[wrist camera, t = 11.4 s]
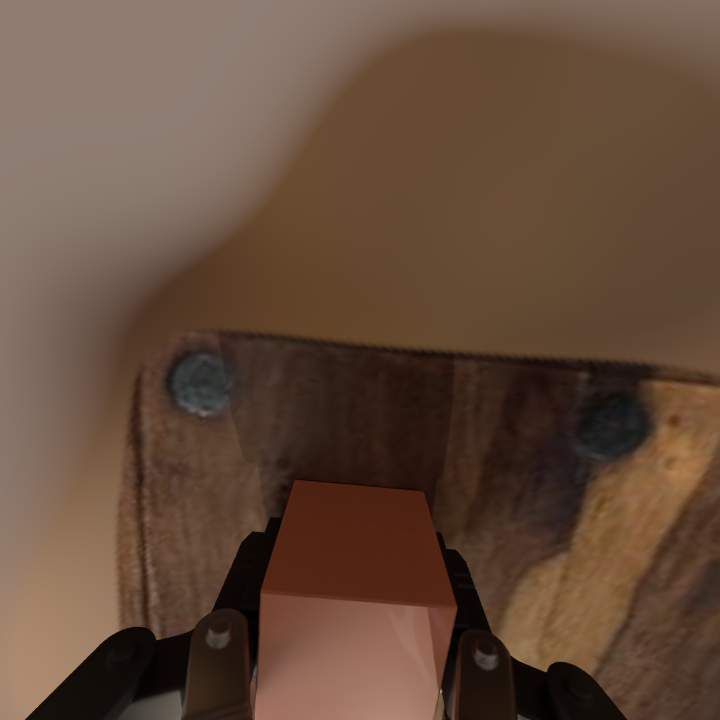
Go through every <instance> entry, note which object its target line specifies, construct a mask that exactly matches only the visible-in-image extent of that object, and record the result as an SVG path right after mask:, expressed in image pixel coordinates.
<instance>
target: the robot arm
mask: <svg viewBox="0 0 720 720" xmlns="http://www.w3.org/2000/svg"><path fill="white" fill-rule="evenodd" d="M282 519H283V518H276V517H270V519H269V522H268V525H267V527H266V530H265V533H264V532H252V533H251V534H250V535H248V536H247V537H246V538H245V539H244V540H243V541H242V543H241V545H240V547H239V550H238V552H237V554H236V557H235V559H234V561H233V563H232V567H231V568H230V570H229V573H228V575H227V577H226V580H225V582H224V584H223V587H222V589H221V591H220V594H219V596H218V598H217V601H216V603H215V605H214V608H213V610H212V612H211V613H209V614H208V615H206V616H205V617H204V618H202V619H201V620H200V621H199V623H198V624H197V625H196V627H195V629H193V630H191V631H189V632H187V633H184V634H181V635H178V636H174V637H169V638H165V639H161V640H156V638H155V635H154V634H153V632H152V631H150V630H149V629H147V628H144V627H131V628H127V629H124V630H121V631H119V632H117V633H115V634H113V635H112V636H110V637H109V638H107V639H106V640H105V641H104V642H103V643H101V644H100V645H99V646H98V647H97V648H96V650H94V652H92V653H91V654H90V655H89V656H88V657H87V659H85V660H84V661H83V663H81V664H80V665H79V666H78V667H77V668H76V670H74V671H73V672H72V673H71V674H70V675H69V676H68V677H67V678H66V679H65V680H64V681H63V682H62V683H61V684H60V685H59V686H58V687H57V688H56V689H55V690H54V691H53V692H52V693H51V694H50V695H49V696H48V697H47V698H46V699H45V700H44V701H43V702H42V703H41V704H40V705H39V706H38V707H37V708H36V709H35V710H34V711H33V712H32V713H31V714H30V715H29V716H28V717H27V718H26V719H25V720H252V709H251V706H250V684H251V680H252V677H256V674H257V653H258V632H259V611H260V591H261V588H262V584H263V581H264V578H265V575H266V571H267V568H268V565H269V562H270V558H271V555H272V552H273V549H274V545H275V542H276V539H277V536H278V532H279V529H280V526H281V523H282ZM436 536H437V539H438V543H439V546H440V549H441V553H442V556H443V560H444V563H445V566H446V570H447V573H448V577H449V580H450V584H451V587H452V590H453V594H454V597H455V601H456V604H457V613H456V617H455V622H454V627H453V632H452V636H451V641H450V646H449V651H448V655H447V660H446V665H445V670H444V674H443V679H442V684H441V689H440V692H442V695H443V700H444V705H445V706H444V711H443V716H442V720H627V719H626V718H625V716H624V715H623V714H622V713H621V711H620V710H619V709H618V708H617V706H616V705H615V704H614V703H613V702H612V700H611V699H610V698H609V697H608V695H607V694H606V693H605V692H604V690H603V689H602V688H601V687H600V686H599V684H598V683H597V682H596V681H595V680H594V679H593V678H592V677H591V676H590V675H589V674H587V673H586V672H585V671H583V670H582V669H580V668H579V667H577V666H575V665H572V664H570V663H566V662H555V663H553V664H551V665H550V666H549V668H548V670H547V673H546V672H544V671H541V670H539V669H536V668H534V667H531V666H529V665H526V664H524V663H522V662H520V661H518V660H516V659H514V658H513V657H512V656H510V653H509V651H508V650H507V648H506V647H505V645H504V644H503V643H502V642H501V641H500V640H499V639H498V638H497V637H496V636H494V635H493V634H492V632H491V629H490V626H489V624H488V621H487V618H486V616H485V613H484V610H483V607H482V605H481V602H480V599H479V596H478V594H477V591H476V589H475V585H474V583H473V580H472V578H471V575H470V572H469V569H468V566H467V564H466V561H465V560H464V559H463V558H462V557H461V555H460V554H459V553H458V552H457V551H456V550H454V549H446V547H445V543H444V540H443V537H442V534H441V533H440V532H436Z"/></svg>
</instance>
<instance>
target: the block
mask: <svg viewBox="0 0 720 720" xmlns="http://www.w3.org/2000/svg"><path fill="white" fill-rule="evenodd" d="M456 613H457V604H456V601H455V597H454V594H453V590H452V587H451V584H450V580H449V577H448V573H447V570H446V566H445V563H444V560H443V556H442V553H441V549H440V546H439V543H438V539H437V536H436V532H435V529H434V525H433V522H432V519H431V515H430V512H429V508H428V505H427V501H426V498H425V495H424V492H423V491H414V490H403V489H392V488H381V487H370V486H359V485H348V484H337V483H326V482H315V481H305V480H295V481H294V484H293V487H292V490H291V493H290V497H289V500H288V503H287V506H286V510H285V513H284V516H283V519H282V523H281V526H280V529H279V532H278V536H277V539H276V542H275V545H274V549H273V552H272V555H271V558H270V562H269V565H268V568H267V571H266V575H265V578H264V581H263V584H262V588H261V591H260V611H259V632H258V653H257V674H256V695H255V716H254V720H434V717H435V713H436V708H437V703H438V698H439V693H440V689H441V684H442V679H443V674H444V670H445V665H446V660H447V655H448V651H449V646H450V641H451V636H452V632H453V627H454V622H455V617H456Z"/></svg>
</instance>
